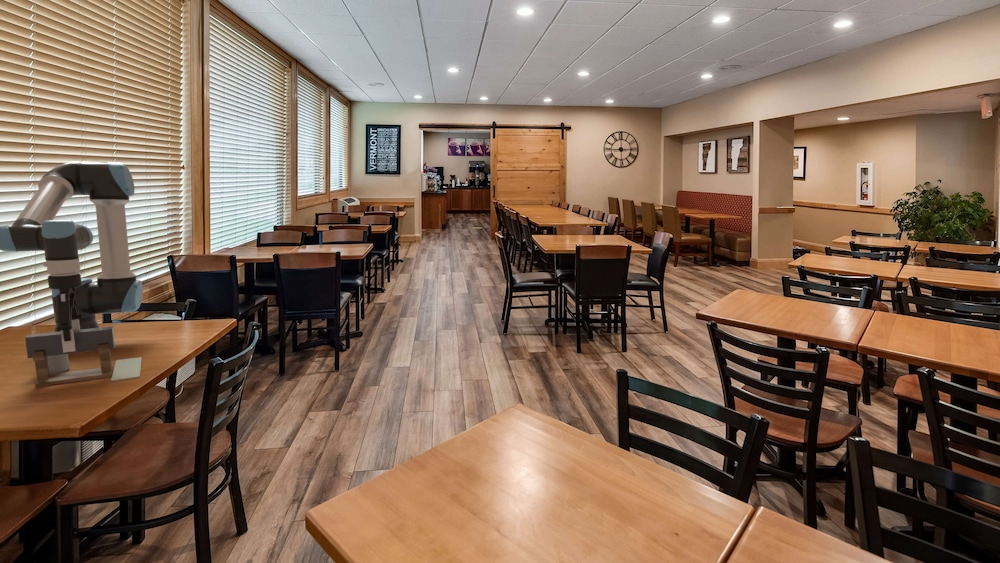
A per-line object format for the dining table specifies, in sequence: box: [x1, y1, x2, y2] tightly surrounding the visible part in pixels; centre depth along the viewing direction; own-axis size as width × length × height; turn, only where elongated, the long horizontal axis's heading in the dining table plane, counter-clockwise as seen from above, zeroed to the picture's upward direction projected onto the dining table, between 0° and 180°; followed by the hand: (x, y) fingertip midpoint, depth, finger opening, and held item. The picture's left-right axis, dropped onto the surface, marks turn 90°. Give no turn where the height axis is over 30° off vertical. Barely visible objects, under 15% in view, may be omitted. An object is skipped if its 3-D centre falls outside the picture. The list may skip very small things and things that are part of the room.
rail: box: [24, 326, 116, 359], centre depth 161 cm, size 4×20×6 cm, turn 122°
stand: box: [32, 344, 114, 388], centre depth 162 cm, size 8×18×10 cm, turn 122°
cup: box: [47, 354, 70, 374], centre depth 168 cm, size 7×10×9 cm
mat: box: [110, 356, 143, 382], centre depth 171 cm, size 22×7×1 cm, turn 32°
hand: (72, 346), depth 161 cm, fingers open, 12 cm apart
